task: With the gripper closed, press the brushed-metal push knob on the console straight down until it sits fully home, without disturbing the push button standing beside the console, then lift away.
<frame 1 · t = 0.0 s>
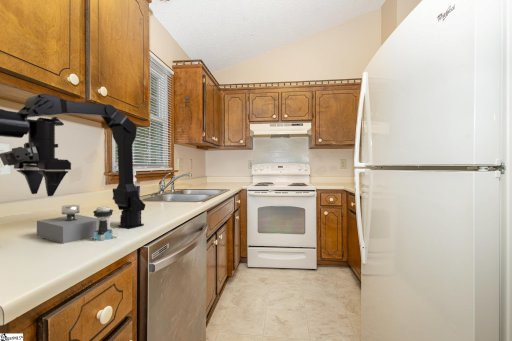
hand: (41, 195, 72), 15 cm above the countertop, tool pointing down, fingers open, 9 cm apart
knob: (70, 217, 84), point 6 cm above the countertop, slide at 0.0 cm
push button: (105, 239, 80), on the countertop
console: (70, 235, 84), on the countertop
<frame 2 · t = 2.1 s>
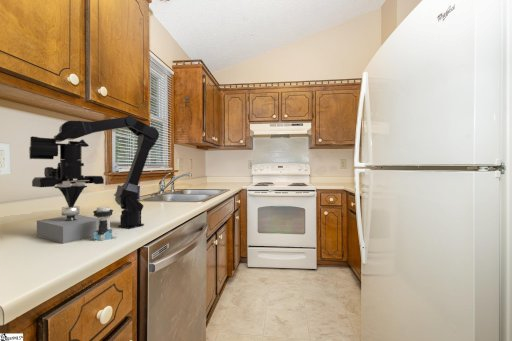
hand: (71, 207, 84), 9 cm above the countertop, tool pointing down, fingers closed, pressing on knob
knob: (70, 218, 84), point 6 cm above the countertop, slide at 0.4 cm, touching gripper
everything else where it was.
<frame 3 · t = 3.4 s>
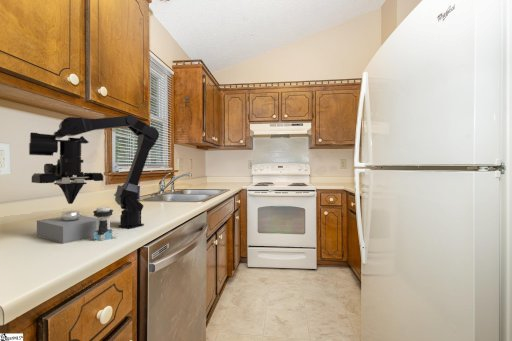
hand: (70, 203, 83), 10 cm above the countertop, tool pointing down, fingers closed
knob: (70, 223, 84), point 4 cm above the countertop, slide at 2.0 cm
everything else where it was.
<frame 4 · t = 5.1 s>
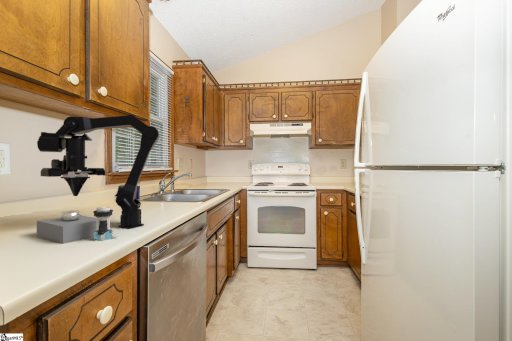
hand: (75, 196, 91), 12 cm above the countertop, tool pointing down, fingers closed
nothing on the countertop moved.
at the end: knob slide at 2.0 cm; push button moved 0.2 cm from its start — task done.
